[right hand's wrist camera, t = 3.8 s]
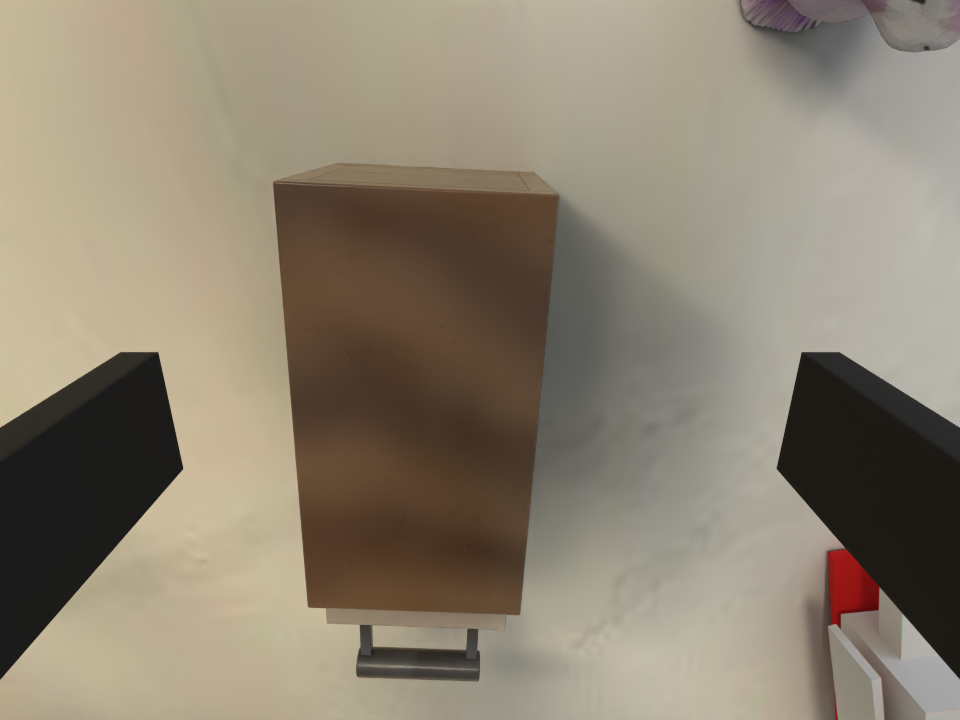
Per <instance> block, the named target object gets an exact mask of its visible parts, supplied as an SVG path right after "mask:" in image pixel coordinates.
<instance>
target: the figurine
mask: <svg viewBox="0 0 960 720" xmlns="http://www.w3.org/2000/svg"><path fill="white" fill-rule="evenodd" d="M741 6H742V10H743V14H744V17H745V18H746V19H747V20H748V21H751V23H752V24H753V25H757V26H762V27H764V26H766V27H767V28H770V27H771V28H772V29H777V30H782V31H787V32H798V31H805V30H807V29H808V28H814V27H815V26H817V25H818V24H819V23H820V22H822V21H825V22H844V21H850V20H853V19H857V18H860V17H863V16H865V15H867V14H869V13H870V14H871V16H872V17H873V19H874V21H875V23H876V25H877V27H878V30H879V32H880V34H881V36H882V37H883V39H884V40H885V41H886V43H887V44H888V45H889V46H890V47H892V48H894V49H897V50H900V51H906V52H914V53H915V52H921V51H930V50H939V49H943V48H947V47H949V46H950V45H952V44H953V43H955V42H957V41H958V40H959V39H960V0H741Z"/></svg>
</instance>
